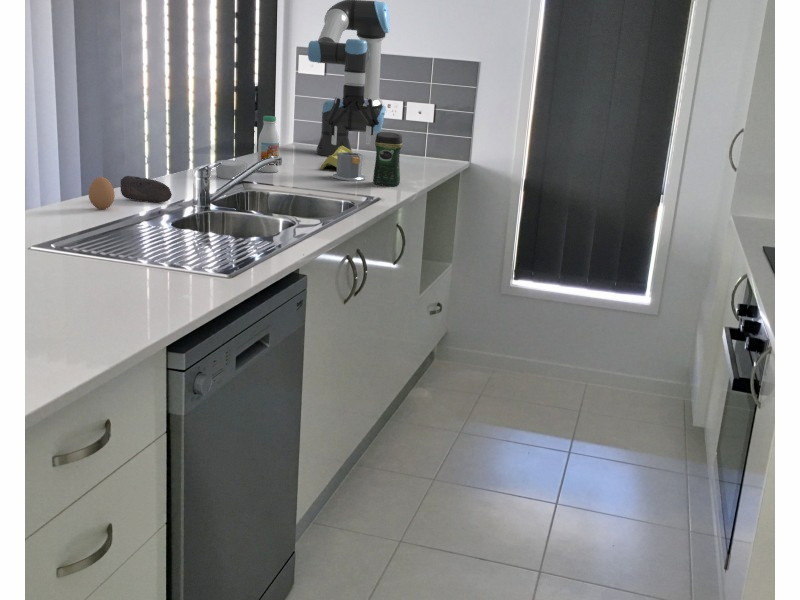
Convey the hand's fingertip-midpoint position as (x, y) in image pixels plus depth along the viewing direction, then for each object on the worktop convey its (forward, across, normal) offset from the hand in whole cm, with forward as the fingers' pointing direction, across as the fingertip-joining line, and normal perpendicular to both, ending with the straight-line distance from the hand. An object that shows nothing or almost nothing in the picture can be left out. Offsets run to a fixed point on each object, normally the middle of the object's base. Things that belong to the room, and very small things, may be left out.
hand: (351, 144), depth 310 cm
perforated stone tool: (+11, +80, +33) cm, 87 cm away
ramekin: (+12, +43, -4) cm, 45 cm away
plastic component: (+13, -6, -22) cm, 27 cm away
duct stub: (+12, 0, +1) cm, 12 cm away
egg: (+11, +94, +42) cm, 104 cm away
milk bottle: (+12, +26, -16) cm, 33 cm away
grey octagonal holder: (+11, 0, +1) cm, 12 cm away
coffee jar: (+12, -9, +13) cm, 20 cm away
